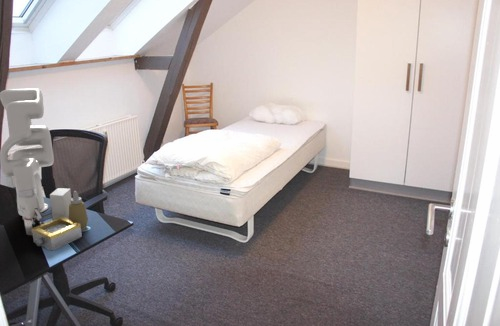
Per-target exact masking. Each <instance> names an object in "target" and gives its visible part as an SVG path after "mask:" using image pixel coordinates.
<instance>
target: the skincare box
mask: <svg viewBox="0 0 500 326" xmlns="http://www.w3.org/2000/svg"><path fill="white" fill-rule="evenodd" d="M71 198H72V192H71V188H64V187H63V188H62V187H60V188H59V187H58V188H56V189H55V190H54V191H52V192H51V193H50V194H49V201H50V202H49V203H50V208H51V216H52V217H51V218H52V220H54V219H56V218H59V217H61V216H62V217H65V218H67V219H69V204H70V203H71V200H70V199H71Z"/></svg>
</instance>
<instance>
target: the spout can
mask: <svg viewBox="0 0 500 326" xmlns="http://www.w3.org/2000/svg"><path fill="white" fill-rule="evenodd" d="M34 216H36V215H34ZM35 219H37V218H34V221H35ZM24 222H25V226H24V229H25V233H26V235H28V236H33V234H32V224H33V223H32V220H31V219H28V218H26V217H24V220H23V223H24ZM44 223H45V222H43V221H40V225H41V224H44Z"/></svg>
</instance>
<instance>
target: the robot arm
mask: <svg viewBox="0 0 500 326" xmlns="http://www.w3.org/2000/svg"><path fill="white" fill-rule="evenodd" d="M0 102H1V104H2V106H3V108H4V110H5V112H6V119H7V120H6V121H7V127H8V138H7V139H6V141H4V143H3V144H2V146H1V148H0V169H1V173H2V175H3V176H4V177H6V178H13V180H14V186H15V191H16V204H17V205H16V206H17V213H18V215H19V216H22V220H23V224H24V227H25V222H24V217H26V218H28V219H31V220H32V223H33V224H32V228H34V227H36V226H39V225H40V222H41V220H42V218H43V217H42V215H41V213H45V211H47V210H48V209H49V204H47V203H45V202H44V201H45V199H44V194H43V186H42V181H41V180H42V179H41V175H40V173H39V172H38V171H39V170H40V168H44V167H51V166H52V165H54V160H55V157H54V150H53V144H52V136H51V133H50V128H49V127H48V126H47V125H44V124H39V125H33V124H32V120H35V119H36V120H38V119H42V118H43V117H44V113H45V112H44V111H45V109H44V108H45V107H44V96H43V93H42V91H41V90H40V89H39V88H9V89H4V90H1V91H0ZM14 146H18V147H30V146H31V147H32V148H31V147H30V148H22V149H18V150H15V151H14V152H13V153H12V157H11V158H12V159H8V158H9V157H8V156H9V151H10V150H11V149H12V148H13V147H14ZM33 146H41V147H34V148H33ZM34 215H36V216H34ZM34 218H37V219H35V221H34Z"/></svg>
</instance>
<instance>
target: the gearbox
mask: <svg viewBox="0 0 500 326" xmlns="http://www.w3.org/2000/svg"><path fill="white" fill-rule="evenodd" d="M43 223H44V224H41V225H39V226H36V227H34V228H32V234H33V235H32V238H33V243H35V245H36V246H37V247H43V248H44V249H45V248H46V249H48V250H50V251H55V250H57V249H60V248H62V247H64V246H66V245H68V244H69V243H72V242H74V241H76V240H79V239H81V238H83V235H82V230H81V225H80V223H78V222H75V221H72V220H70V219H67V218H65V217H62V216H61V217H59V218H56V219H54V220H53V219H52V220H49V221H47V222H43Z"/></svg>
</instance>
